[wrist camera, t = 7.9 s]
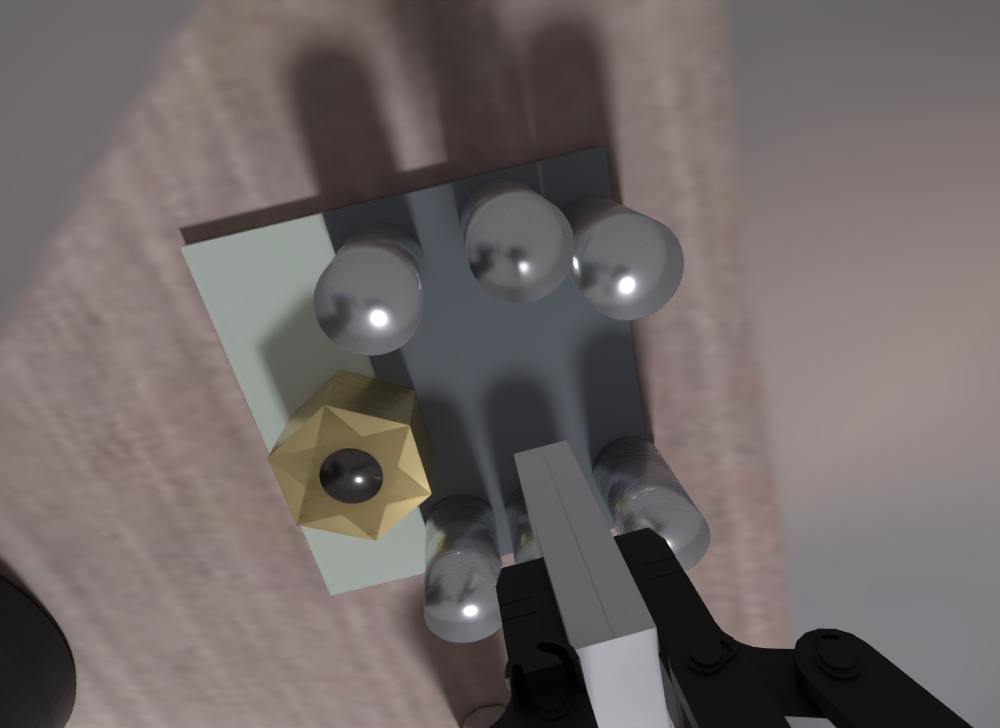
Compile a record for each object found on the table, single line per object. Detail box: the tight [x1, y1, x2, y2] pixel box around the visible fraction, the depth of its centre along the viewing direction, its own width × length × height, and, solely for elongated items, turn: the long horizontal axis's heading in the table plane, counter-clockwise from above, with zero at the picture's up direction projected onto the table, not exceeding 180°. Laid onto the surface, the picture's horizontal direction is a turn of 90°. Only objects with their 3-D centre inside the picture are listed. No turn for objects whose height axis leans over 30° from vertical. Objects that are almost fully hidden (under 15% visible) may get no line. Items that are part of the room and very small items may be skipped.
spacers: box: [313, 178, 710, 643], centre depth 21 cm, size 10×15×5 cm
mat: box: [180, 146, 646, 595], centre depth 24 cm, size 15×16×1 cm
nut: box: [268, 370, 434, 541], centre depth 22 cm, size 6×5×3 cm
